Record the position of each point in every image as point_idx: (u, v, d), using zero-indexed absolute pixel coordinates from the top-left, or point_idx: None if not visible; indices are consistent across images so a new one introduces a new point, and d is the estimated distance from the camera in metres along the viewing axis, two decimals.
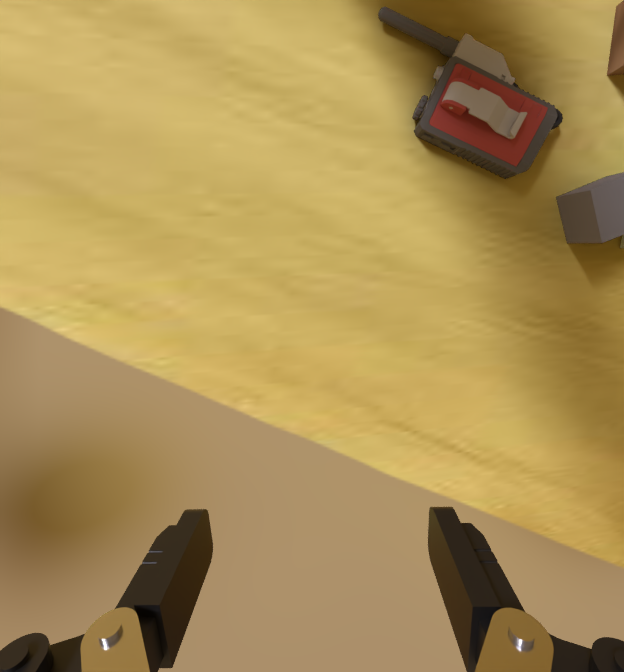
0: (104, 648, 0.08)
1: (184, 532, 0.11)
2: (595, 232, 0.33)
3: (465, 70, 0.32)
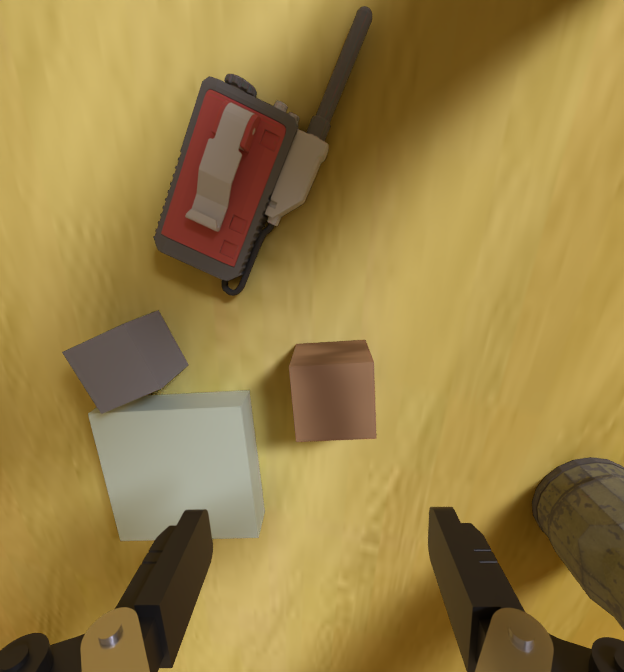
0: (104, 648, 0.08)
1: (184, 532, 0.11)
2: None
3: (277, 142, 0.22)
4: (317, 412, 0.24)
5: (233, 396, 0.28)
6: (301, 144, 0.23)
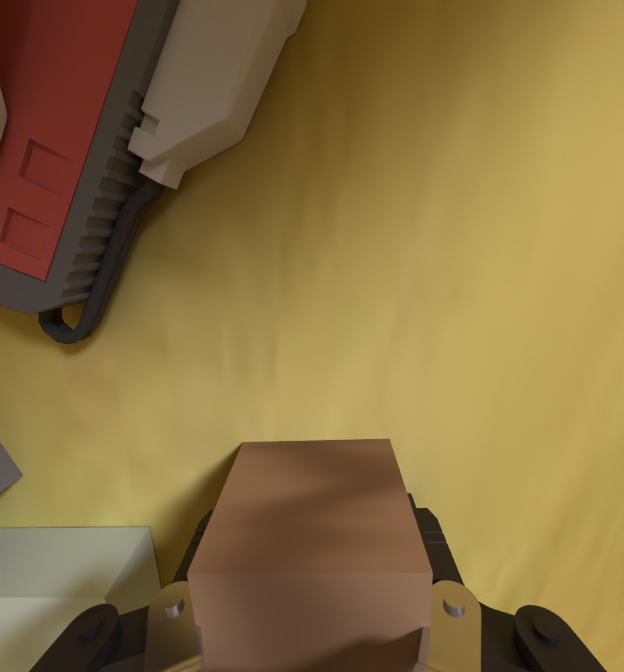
0: (170, 617, 0.09)
1: None
2: None
3: None
4: None
5: (107, 549, 0.13)
6: None
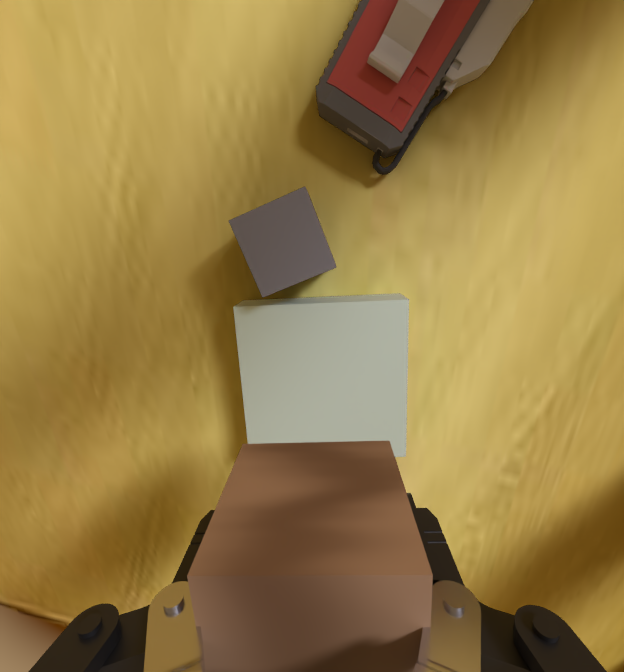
0: (171, 617, 0.09)
1: None
2: None
3: None
4: None
5: (388, 296, 0.26)
6: None
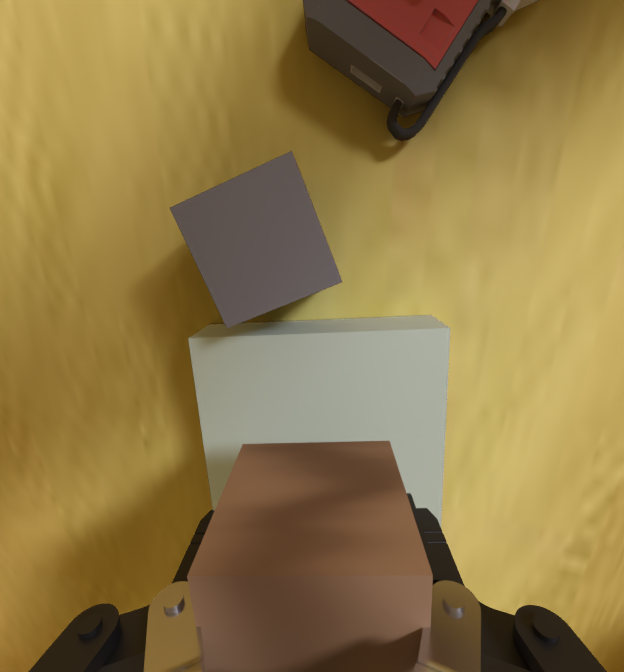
0: (171, 617, 0.09)
1: None
2: None
3: None
4: None
5: (416, 320, 0.18)
6: None
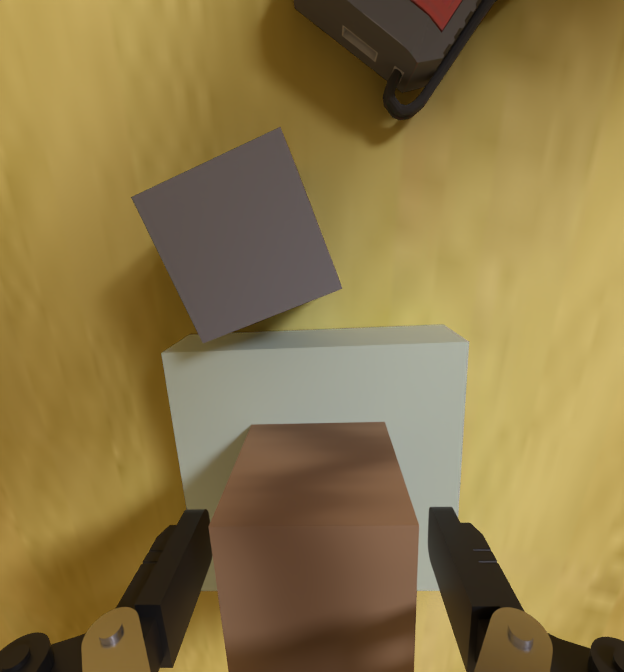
0: (105, 648, 0.08)
1: (184, 532, 0.11)
2: None
3: None
4: (277, 625, 0.10)
5: (427, 331, 0.15)
6: None
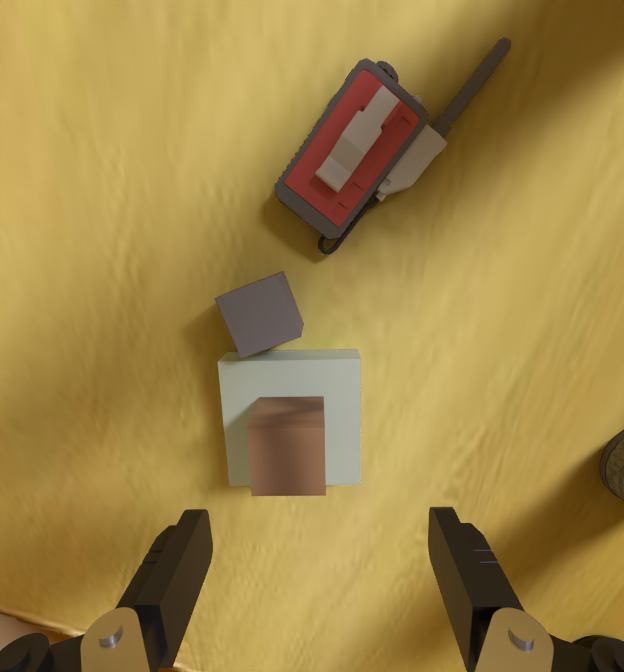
0: (104, 648, 0.08)
1: (184, 532, 0.11)
2: None
3: (408, 129, 0.26)
4: (271, 470, 0.26)
5: (346, 352, 0.31)
6: (425, 137, 0.26)
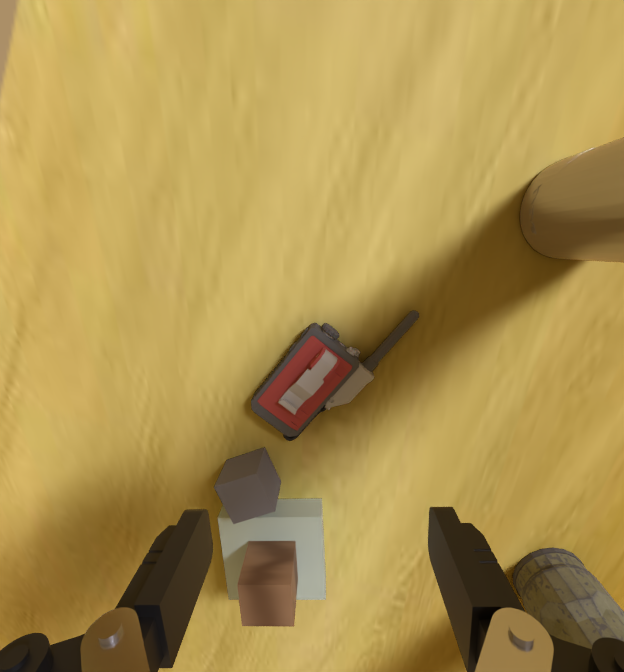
0: (104, 648, 0.08)
1: (184, 532, 0.11)
2: (224, 480, 0.38)
3: (345, 372, 0.36)
4: (255, 610, 0.37)
5: (312, 505, 0.42)
6: (358, 374, 0.37)
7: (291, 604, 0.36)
